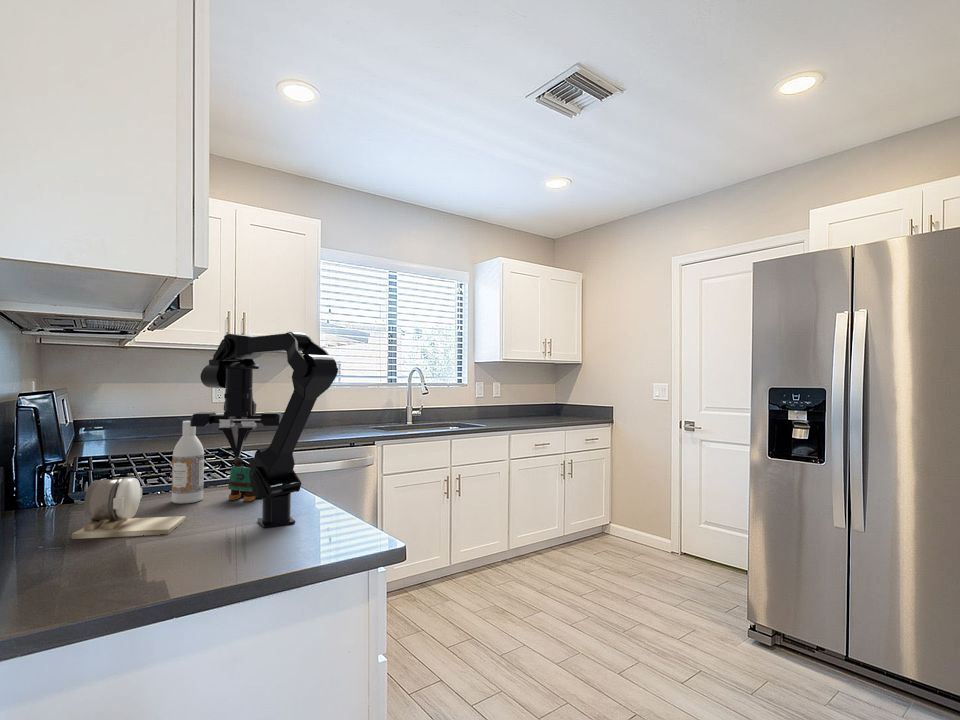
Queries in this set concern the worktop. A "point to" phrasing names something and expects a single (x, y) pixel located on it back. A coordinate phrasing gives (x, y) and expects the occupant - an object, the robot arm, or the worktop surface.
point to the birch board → (129, 527)
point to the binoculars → (240, 481)
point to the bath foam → (188, 467)
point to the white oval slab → (127, 498)
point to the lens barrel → (101, 500)
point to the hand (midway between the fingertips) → (237, 457)
